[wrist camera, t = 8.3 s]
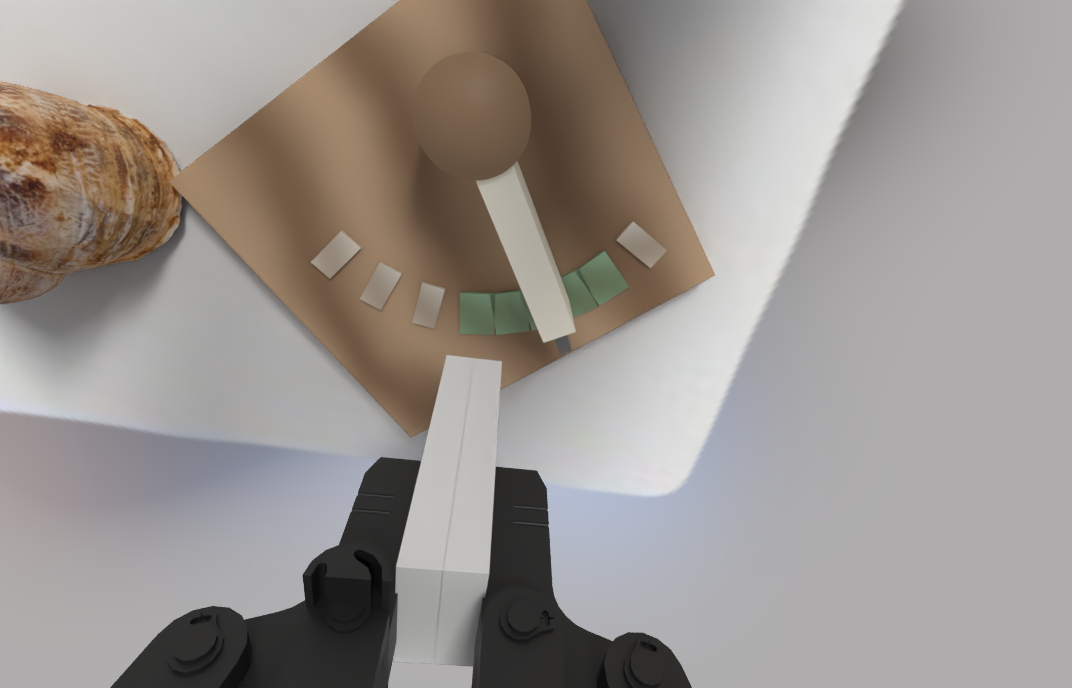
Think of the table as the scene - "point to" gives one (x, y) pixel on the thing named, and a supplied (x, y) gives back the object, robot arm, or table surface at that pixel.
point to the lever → (494, 169)
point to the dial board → (447, 201)
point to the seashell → (76, 190)
